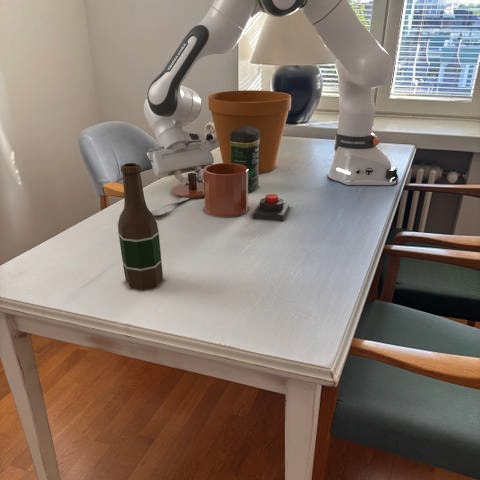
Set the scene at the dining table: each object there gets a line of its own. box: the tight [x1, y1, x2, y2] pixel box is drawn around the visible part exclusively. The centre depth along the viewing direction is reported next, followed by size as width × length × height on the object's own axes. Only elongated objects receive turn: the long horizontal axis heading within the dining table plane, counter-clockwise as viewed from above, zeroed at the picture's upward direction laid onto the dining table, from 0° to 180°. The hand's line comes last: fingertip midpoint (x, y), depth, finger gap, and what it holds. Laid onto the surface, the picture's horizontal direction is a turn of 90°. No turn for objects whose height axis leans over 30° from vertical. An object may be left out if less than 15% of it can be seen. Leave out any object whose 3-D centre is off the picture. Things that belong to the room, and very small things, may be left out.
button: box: [265, 193, 280, 204], centre depth 133 cm, size 4×4×2 cm
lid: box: [171, 172, 204, 198], centre depth 149 cm, size 13×13×6 cm
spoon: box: [150, 197, 191, 217], centre depth 138 cm, size 4×21×2 cm, turn 155°
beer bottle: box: [117, 162, 164, 291], centre depth 94 cm, size 8×8×24 cm
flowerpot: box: [207, 89, 292, 174], centre depth 169 cm, size 28×28×24 cm
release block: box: [253, 197, 290, 222], centre depth 134 cm, size 11×8×4 cm
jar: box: [202, 162, 249, 218], centre depth 134 cm, size 12×12×12 cm
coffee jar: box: [230, 126, 260, 193], centre depth 148 cm, size 10×8×19 cm
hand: (193, 183), depth 148 cm, fingers open, 4 cm apart
